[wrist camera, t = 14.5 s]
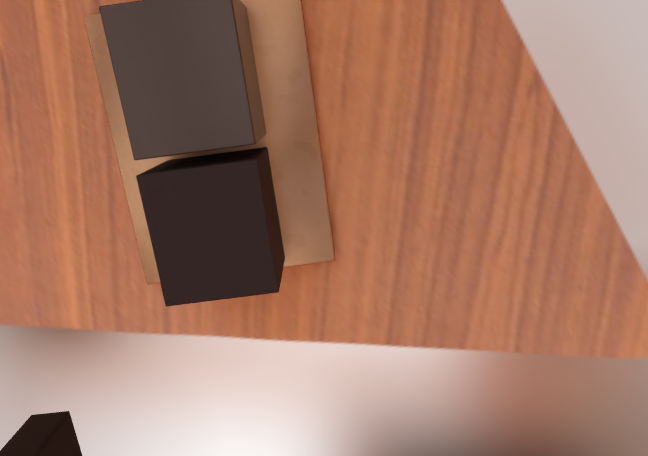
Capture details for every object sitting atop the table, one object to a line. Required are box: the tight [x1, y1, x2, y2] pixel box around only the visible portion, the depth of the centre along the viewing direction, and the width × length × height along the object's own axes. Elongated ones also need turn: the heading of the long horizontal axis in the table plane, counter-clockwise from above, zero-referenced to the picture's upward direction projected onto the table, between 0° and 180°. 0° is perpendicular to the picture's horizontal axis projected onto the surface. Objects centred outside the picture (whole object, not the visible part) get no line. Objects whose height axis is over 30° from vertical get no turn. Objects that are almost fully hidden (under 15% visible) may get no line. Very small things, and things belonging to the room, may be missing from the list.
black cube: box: [136, 147, 285, 306], centre depth 29 cm, size 6×7×6 cm
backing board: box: [83, 0, 335, 284], centre depth 28 cm, size 12×16×7 cm
